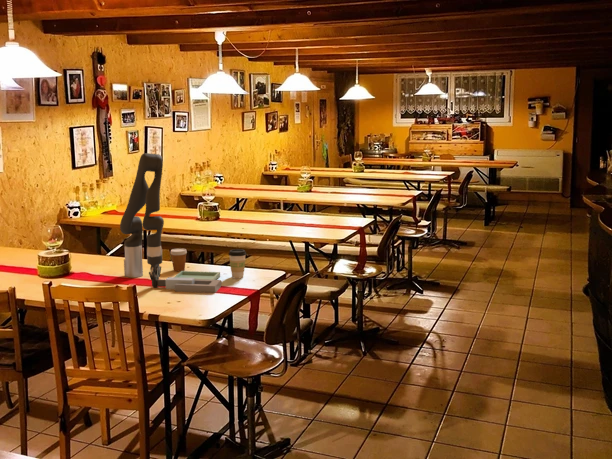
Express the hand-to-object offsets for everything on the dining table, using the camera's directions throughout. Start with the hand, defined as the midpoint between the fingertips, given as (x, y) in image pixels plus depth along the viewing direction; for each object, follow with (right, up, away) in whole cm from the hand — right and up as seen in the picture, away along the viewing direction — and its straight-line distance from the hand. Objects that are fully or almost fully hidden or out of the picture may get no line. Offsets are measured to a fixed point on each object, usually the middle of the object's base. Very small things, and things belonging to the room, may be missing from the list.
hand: (155, 286), depth 326 cm
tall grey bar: (+9, 0, -1) cm, 9 cm away
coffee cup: (+41, +3, +21) cm, 46 cm away
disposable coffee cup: (+5, +6, +36) cm, 37 cm away
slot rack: (+23, -1, -3) cm, 23 cm away
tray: (+19, +3, +15) cm, 24 cm away
